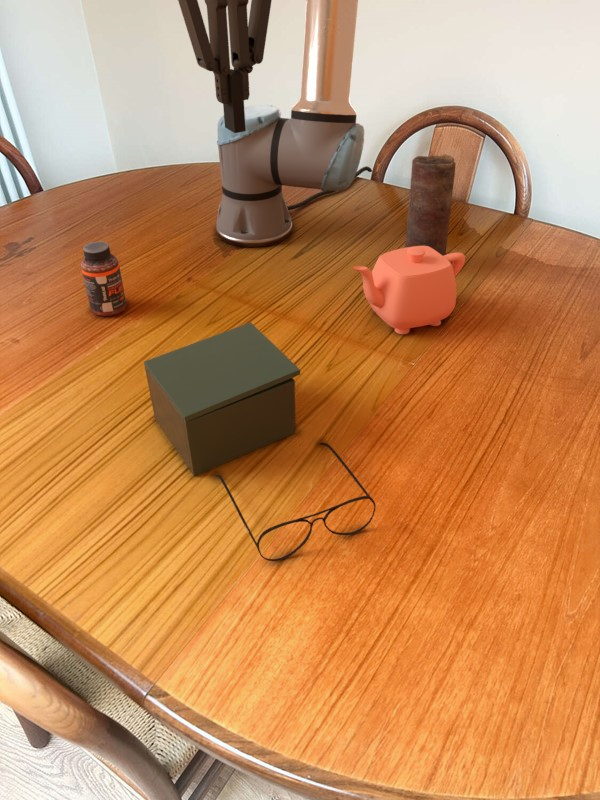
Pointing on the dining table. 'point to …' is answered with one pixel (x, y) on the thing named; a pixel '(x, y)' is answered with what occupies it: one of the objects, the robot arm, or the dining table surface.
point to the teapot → (412, 286)
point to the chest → (227, 425)
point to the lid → (220, 370)
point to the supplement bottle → (102, 280)
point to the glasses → (306, 516)
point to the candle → (430, 202)
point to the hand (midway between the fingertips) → (235, 129)
